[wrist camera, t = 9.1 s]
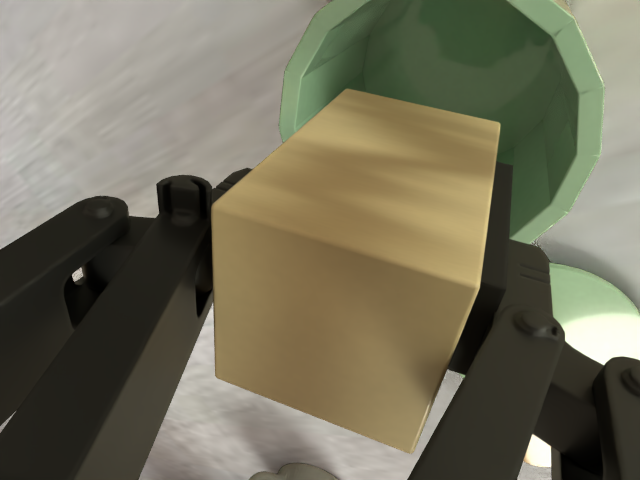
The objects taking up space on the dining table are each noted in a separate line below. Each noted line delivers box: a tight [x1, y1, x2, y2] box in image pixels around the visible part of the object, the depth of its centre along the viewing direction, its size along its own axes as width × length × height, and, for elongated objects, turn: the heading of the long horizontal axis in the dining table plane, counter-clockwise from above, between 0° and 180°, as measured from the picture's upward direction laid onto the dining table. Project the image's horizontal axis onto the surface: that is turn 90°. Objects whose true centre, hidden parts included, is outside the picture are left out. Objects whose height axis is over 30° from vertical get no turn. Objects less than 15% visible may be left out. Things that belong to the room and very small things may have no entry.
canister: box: [279, 0, 605, 244], centre depth 24 cm, size 13×13×12 cm
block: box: [211, 89, 501, 454], centre depth 13 cm, size 5×5×8 cm
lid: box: [459, 263, 640, 467], centre depth 32 cm, size 14×14×10 cm
